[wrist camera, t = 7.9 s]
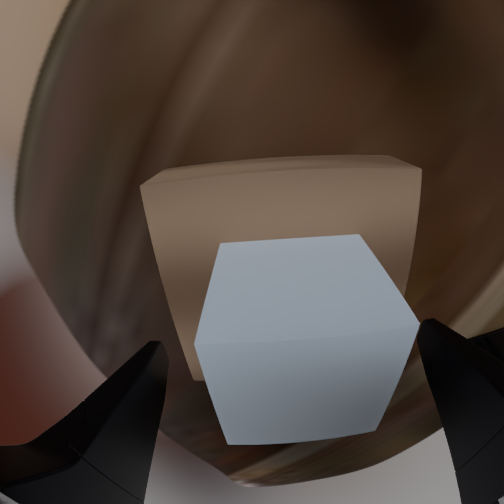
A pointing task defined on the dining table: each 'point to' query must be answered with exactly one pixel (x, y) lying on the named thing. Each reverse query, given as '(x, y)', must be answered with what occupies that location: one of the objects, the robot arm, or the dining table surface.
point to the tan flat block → (274, 217)
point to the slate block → (301, 339)
